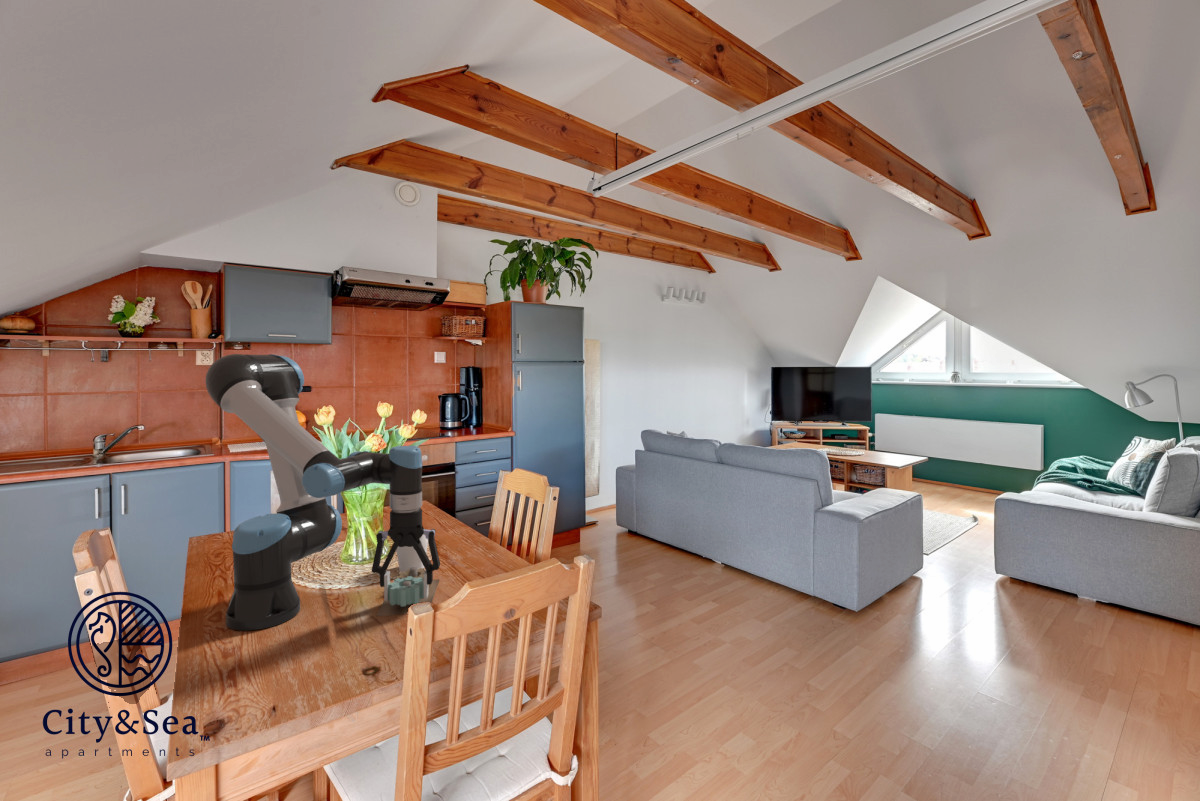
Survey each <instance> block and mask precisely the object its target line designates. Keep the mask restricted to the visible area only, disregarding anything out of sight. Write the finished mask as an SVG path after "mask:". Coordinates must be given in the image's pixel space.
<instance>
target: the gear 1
mask: <svg viewBox="0 0 1200 801" xmlns="http://www.w3.org/2000/svg"><path fill="white" fill-rule="evenodd" d="M424 571H425V567H424V568H420V569H417V576H416V577H412V578H419V577H421V578H423V574H424ZM407 576H410V573H409V569H408V571H405V572H400V571H399V572H398V573H397V576H395V579H397V578H400V579H402V578H407ZM423 581H424V579H423ZM430 586H431V585H428V590H429V587H430Z"/></svg>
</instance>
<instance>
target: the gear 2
mask: <svg viewBox="0 0 1200 801" xmlns="http://www.w3.org/2000/svg"><path fill="white" fill-rule="evenodd" d="M405 581H411V585H410V586H403V585H402V583H403V582H405ZM420 599H424V581H423V578H421V577H419V578H412V576H407V578H402V579H400V578H397V579H396V578H395V579H393V581H392V582H390V583H389V584H388V601H390V604H391V605H395V604H397V605H401V607H402V606H406V605H407V604H412V603H413V604H417V603H419V600H420Z"/></svg>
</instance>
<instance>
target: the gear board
mask: <svg viewBox="0 0 1200 801" xmlns="http://www.w3.org/2000/svg"><path fill="white" fill-rule="evenodd" d="M409 573H410V576H412V577H416V576H417V568H416V567H413V568H410V569H409ZM439 583H440V579H433V581H432V583H431V586H430V587H429V590H428V597H427V599H420V600H419V603H421V602H430V603H433V600H434V597H435V595H436V591H437V589H438V586H439ZM402 585H403V586H410V585H411V581H405V582H403V583H402ZM411 605H413V603H412V604H407V605H406V606H402V607H401V605H397V604H395V605H391V604H390V601H384V600H383V602H382V604H381V606H380V608H379V610H377V613H376V615H375V616H376V617H383V616H401V615H408V614H407V612H408V608H409V607H410V606H411Z"/></svg>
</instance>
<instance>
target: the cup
mask: <svg viewBox="0 0 1200 801" xmlns="http://www.w3.org/2000/svg"><path fill="white" fill-rule="evenodd" d="M424 529H425V528H424ZM425 530H427V529H425ZM420 541H421V543H422V546H423V548H424V550H425V552H426V554H427V551H428V547H429V544H428V539H426V536H425V535H424V534H423V535H422V536H421V538H420ZM395 553H396V556H397V562H398V570H399V572H405V571H408V569H410V568H413V567H416V568H417V569H420V568H424V569H425V567H424V566H423V564H422V562H421V560H420V558H419V556H418V554H417V552H416V550H414V548H413V546H412V547H407V546H404V547H399V546H398V548H397V550H396V552H395Z"/></svg>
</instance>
